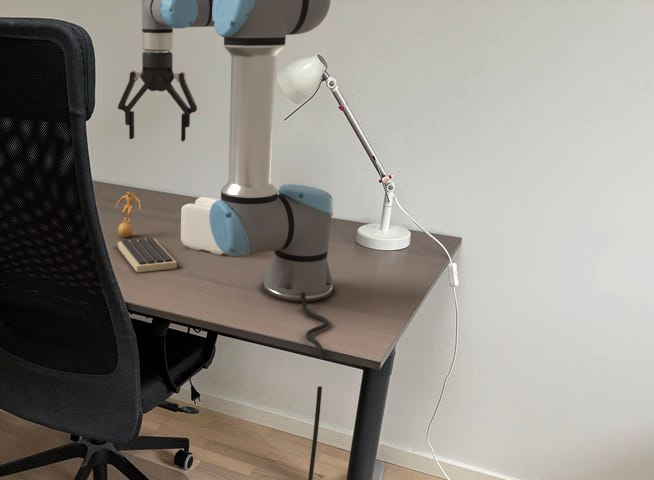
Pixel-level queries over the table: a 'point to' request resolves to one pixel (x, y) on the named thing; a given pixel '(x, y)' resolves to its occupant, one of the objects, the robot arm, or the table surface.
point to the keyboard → (146, 255)
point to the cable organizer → (198, 226)
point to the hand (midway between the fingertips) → (157, 139)
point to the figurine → (125, 227)
